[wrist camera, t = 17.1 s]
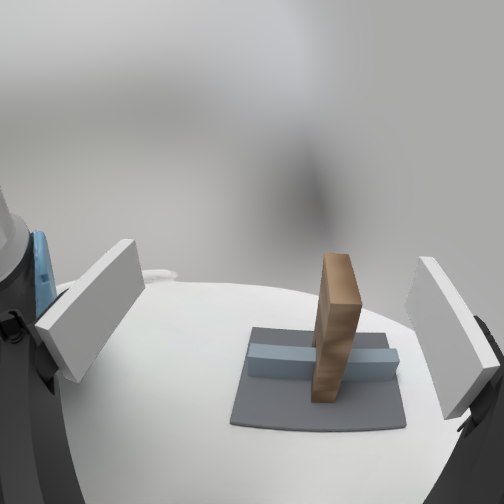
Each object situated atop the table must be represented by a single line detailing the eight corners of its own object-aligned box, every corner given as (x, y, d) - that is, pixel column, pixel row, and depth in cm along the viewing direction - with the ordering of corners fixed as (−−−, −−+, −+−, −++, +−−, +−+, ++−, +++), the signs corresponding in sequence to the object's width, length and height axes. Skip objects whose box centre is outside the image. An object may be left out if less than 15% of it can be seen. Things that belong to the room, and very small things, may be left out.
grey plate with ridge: (230, 423, 31) (227, 404, 29) (252, 329, 47) (252, 307, 45) (405, 427, 28) (418, 407, 26) (384, 335, 43) (391, 313, 41)
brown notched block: (310, 402, 33) (330, 303, 25) (311, 348, 41) (324, 253, 34) (333, 403, 32) (362, 304, 25) (331, 349, 41) (348, 254, 34)
